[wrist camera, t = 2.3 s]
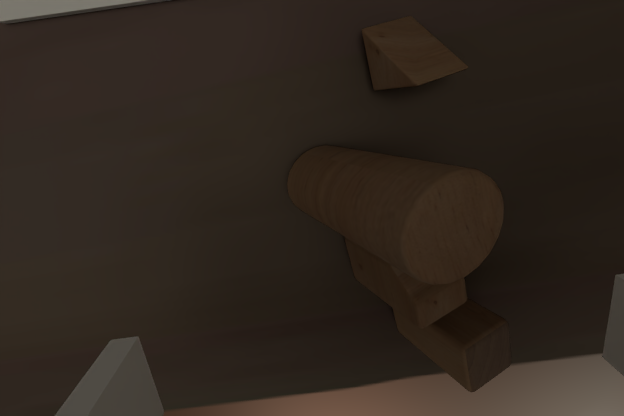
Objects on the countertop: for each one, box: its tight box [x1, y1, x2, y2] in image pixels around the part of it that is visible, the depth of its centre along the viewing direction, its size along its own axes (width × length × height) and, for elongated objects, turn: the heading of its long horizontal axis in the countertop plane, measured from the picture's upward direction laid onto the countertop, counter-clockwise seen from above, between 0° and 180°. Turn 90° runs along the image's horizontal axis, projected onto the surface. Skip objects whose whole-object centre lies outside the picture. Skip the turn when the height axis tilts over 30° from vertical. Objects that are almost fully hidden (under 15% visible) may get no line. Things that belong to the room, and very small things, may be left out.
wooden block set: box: [287, 16, 512, 392], centre depth 17 cm, size 18×9×10 cm, turn 15°
